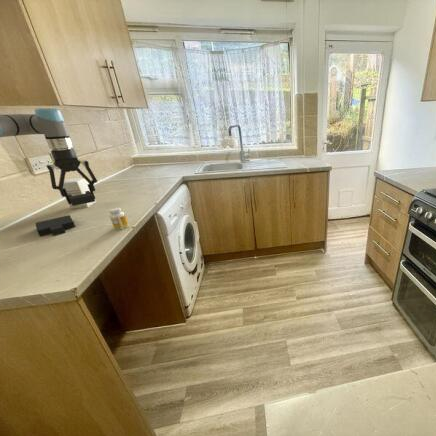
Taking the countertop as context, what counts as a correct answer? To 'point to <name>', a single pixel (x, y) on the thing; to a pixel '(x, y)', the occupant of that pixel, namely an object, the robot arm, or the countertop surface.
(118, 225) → the supplement bottle
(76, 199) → the black pad
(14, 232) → the countertop surface
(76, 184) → the rectangular carton
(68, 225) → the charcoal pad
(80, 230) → the countertop surface
